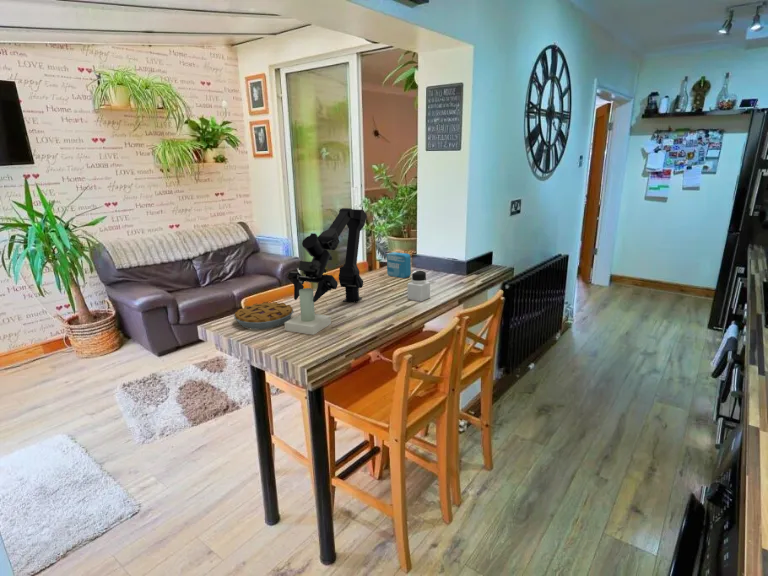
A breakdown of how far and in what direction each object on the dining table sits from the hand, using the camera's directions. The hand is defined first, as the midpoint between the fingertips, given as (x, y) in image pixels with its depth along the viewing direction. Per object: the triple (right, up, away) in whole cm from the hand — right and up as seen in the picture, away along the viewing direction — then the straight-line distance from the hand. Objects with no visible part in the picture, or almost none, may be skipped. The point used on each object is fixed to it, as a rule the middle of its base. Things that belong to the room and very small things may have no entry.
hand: (304, 300), depth 158 cm
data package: (+36, +10, +73) cm, 82 cm away
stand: (+1, -10, +4) cm, 11 cm away
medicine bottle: (+44, 0, +34) cm, 56 cm away
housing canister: (+1, -7, +3) cm, 8 cm away
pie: (-17, -8, +13) cm, 23 cm away
